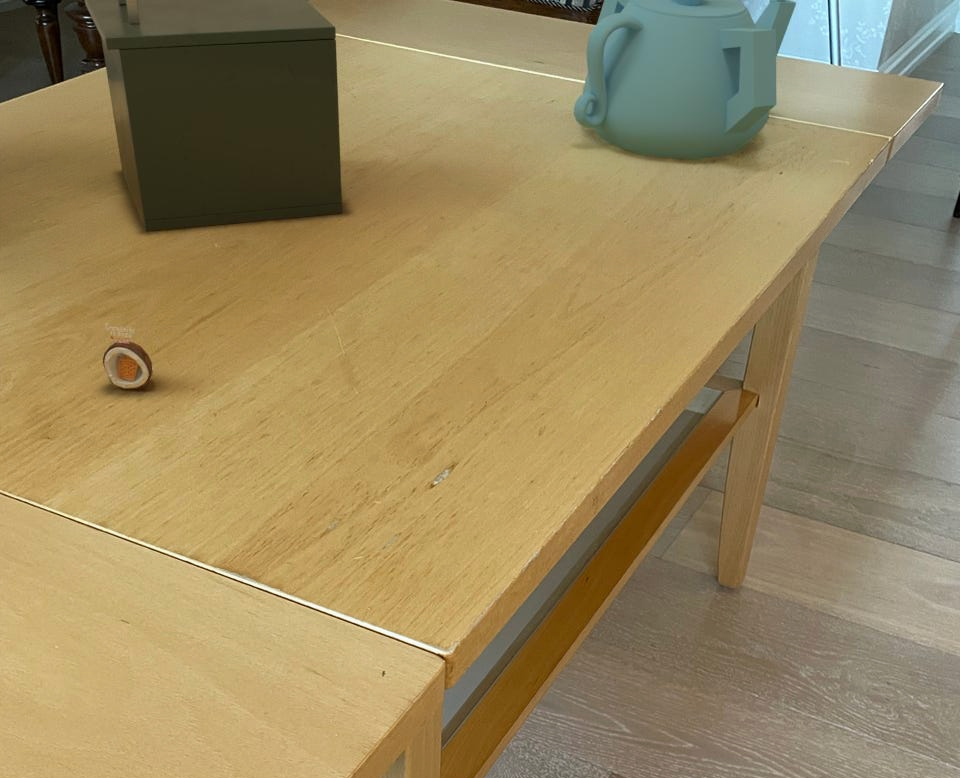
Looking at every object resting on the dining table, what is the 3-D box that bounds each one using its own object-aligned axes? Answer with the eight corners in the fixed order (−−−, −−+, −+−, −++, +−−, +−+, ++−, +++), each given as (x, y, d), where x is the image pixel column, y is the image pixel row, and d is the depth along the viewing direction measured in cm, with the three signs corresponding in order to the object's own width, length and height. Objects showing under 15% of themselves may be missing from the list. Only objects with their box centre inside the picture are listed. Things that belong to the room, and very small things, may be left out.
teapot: (752, 177, 104) (784, 5, 95) (547, 149, 108) (559, -18, 99) (774, 119, 118) (803, -35, 109) (591, 96, 122) (605, -54, 113)
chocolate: (165, 378, 71) (156, 317, 68) (150, 395, 69) (140, 333, 67) (119, 372, 71) (109, 311, 69) (104, 389, 70) (92, 327, 67)
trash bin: (146, 231, 89) (119, 49, 80) (122, 173, 98) (96, 5, 90) (342, 213, 93) (336, 39, 85) (301, 158, 103) (292, -2, 94)
